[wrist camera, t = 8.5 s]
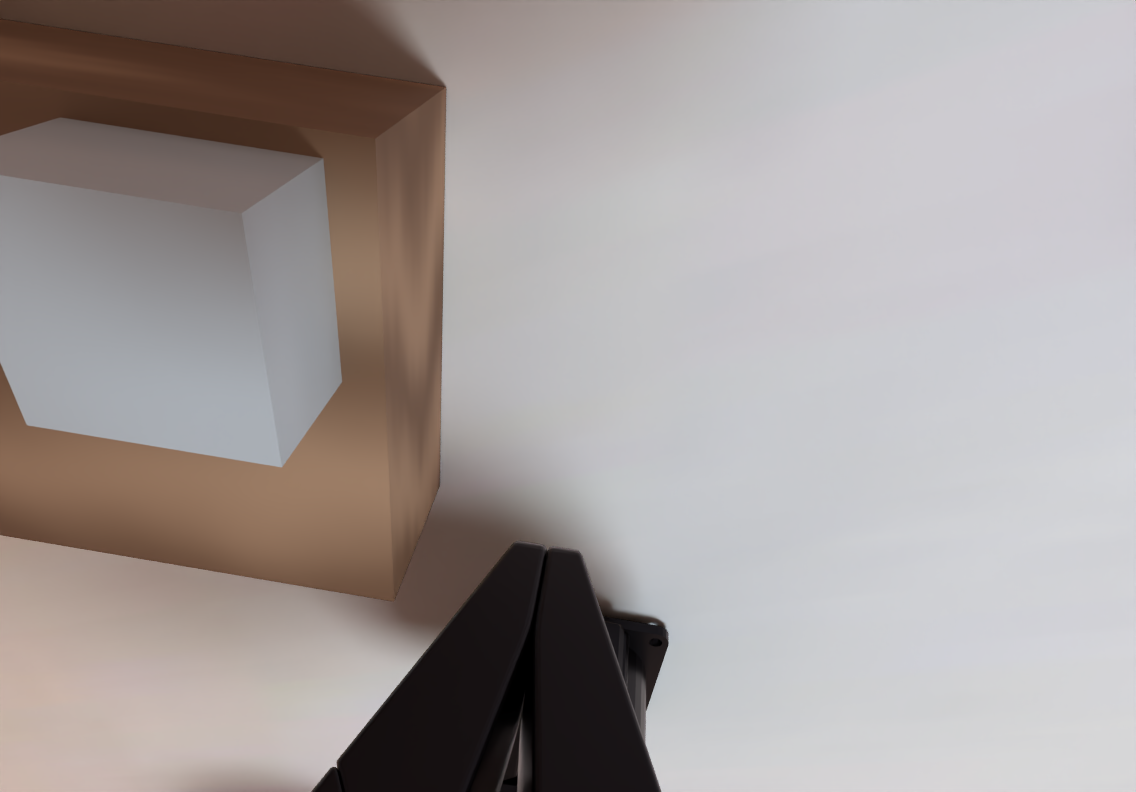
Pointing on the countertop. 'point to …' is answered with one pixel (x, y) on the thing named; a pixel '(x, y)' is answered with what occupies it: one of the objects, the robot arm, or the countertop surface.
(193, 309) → the pale grey squat block
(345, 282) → the walnut block
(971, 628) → the countertop surface
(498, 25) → the countertop surface
